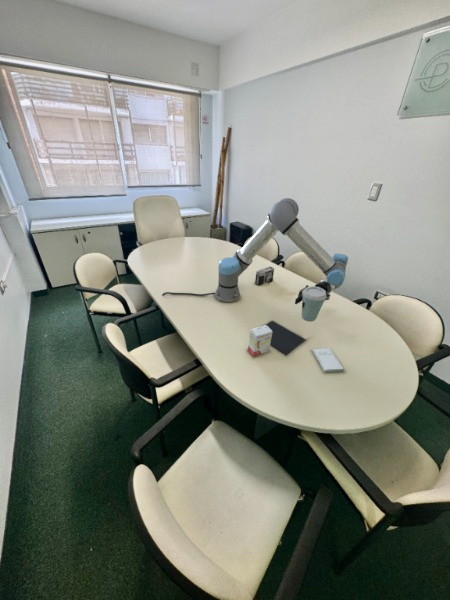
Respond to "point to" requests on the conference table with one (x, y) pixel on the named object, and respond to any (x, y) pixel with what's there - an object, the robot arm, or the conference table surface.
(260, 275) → the camera
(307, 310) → the disposable coffee cup
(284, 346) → the mat
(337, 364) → the hard drive
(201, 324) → the conference table surface
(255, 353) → the ink box
